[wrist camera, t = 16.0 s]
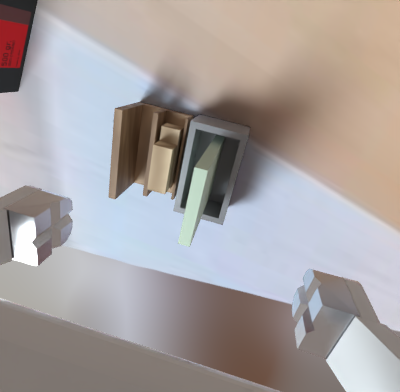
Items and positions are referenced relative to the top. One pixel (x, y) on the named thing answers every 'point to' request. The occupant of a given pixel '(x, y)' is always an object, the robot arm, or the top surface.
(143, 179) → the rack
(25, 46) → the cleaning product box
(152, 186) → the offcut upper
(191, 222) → the sheet
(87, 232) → the top surface
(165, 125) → the offcut lower
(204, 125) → the bin
